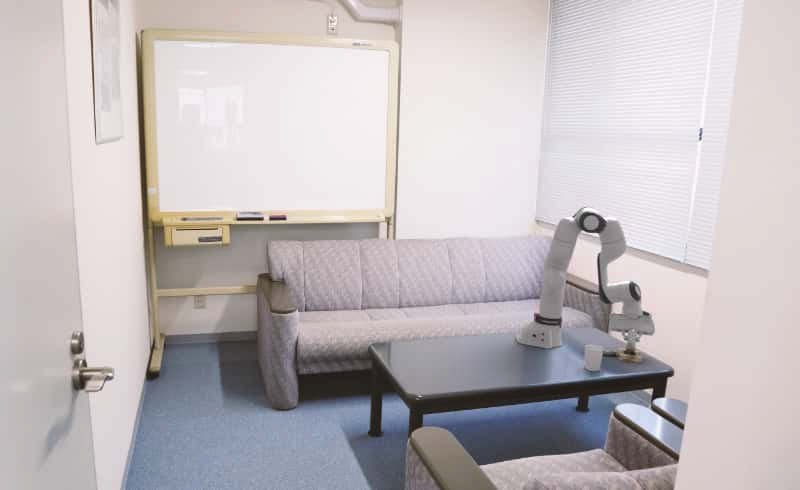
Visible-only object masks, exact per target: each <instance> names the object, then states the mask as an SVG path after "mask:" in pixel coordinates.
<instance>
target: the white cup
mask: <svg viewBox="0 0 800 490" xmlns="http://www.w3.org/2000/svg"><path fill="white" fill-rule="evenodd" d="M603 350H604V347H602V346H600V345H598V344H591V343H589V344H586V345H584V355H583V356H584V357H583V358H584V365H583V369H585V370H587V371H590V372H599V371H600V369H601V366H602V360H603V356H604V355H603Z"/></svg>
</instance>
